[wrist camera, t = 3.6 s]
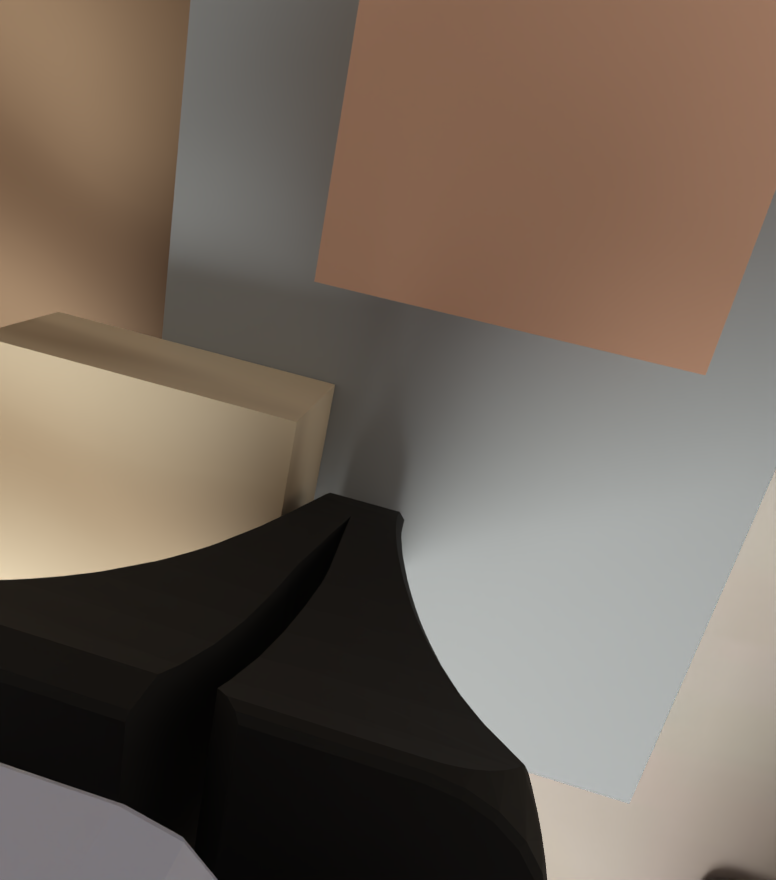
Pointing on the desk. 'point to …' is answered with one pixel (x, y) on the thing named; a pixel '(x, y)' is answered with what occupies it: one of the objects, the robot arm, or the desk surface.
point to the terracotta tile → (558, 165)
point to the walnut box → (89, 157)
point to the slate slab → (475, 418)
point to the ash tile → (142, 446)
